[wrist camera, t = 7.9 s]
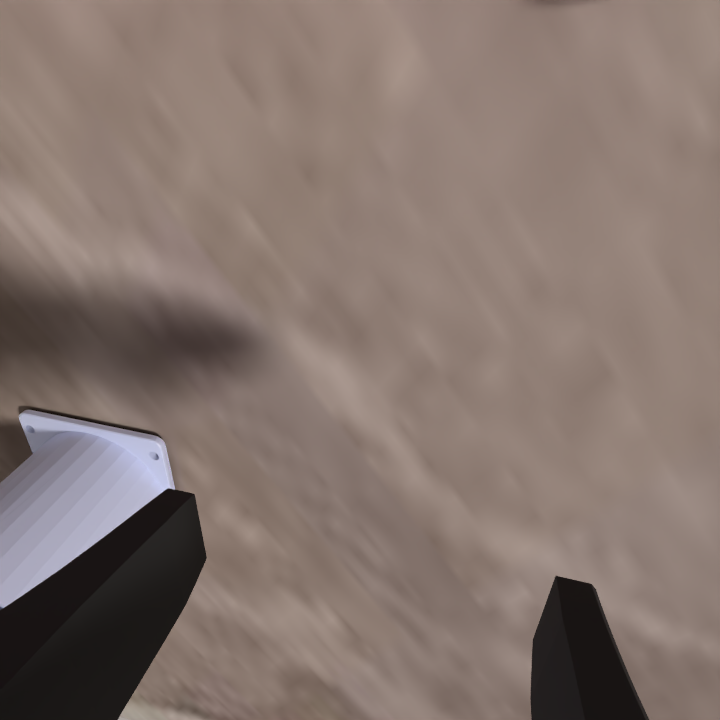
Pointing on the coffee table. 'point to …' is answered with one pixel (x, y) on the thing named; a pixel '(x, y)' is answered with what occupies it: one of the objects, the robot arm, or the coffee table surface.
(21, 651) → the robot arm
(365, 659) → the coffee table surface
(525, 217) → the coffee table surface
